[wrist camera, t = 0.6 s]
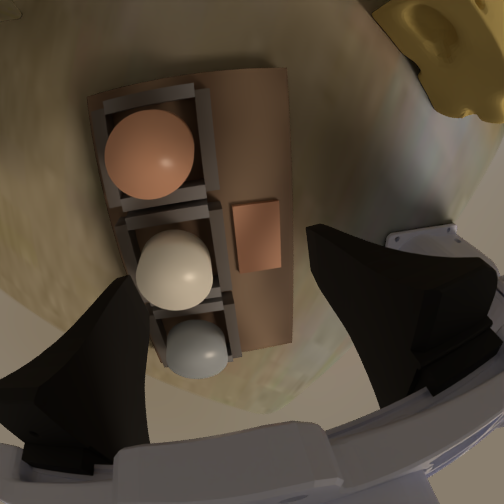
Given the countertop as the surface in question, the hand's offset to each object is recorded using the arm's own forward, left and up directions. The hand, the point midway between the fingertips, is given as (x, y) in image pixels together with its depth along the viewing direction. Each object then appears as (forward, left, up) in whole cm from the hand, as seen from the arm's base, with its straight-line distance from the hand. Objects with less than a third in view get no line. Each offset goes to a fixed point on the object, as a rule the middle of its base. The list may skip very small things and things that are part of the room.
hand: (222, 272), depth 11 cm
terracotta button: (+3, -4, -6) cm, 8 cm away
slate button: (+3, +10, -6) cm, 12 cm away
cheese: (-19, -13, -10) cm, 25 cm away
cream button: (+3, +3, -6) cm, 7 cm away
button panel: (+1, +3, -9) cm, 10 cm away
